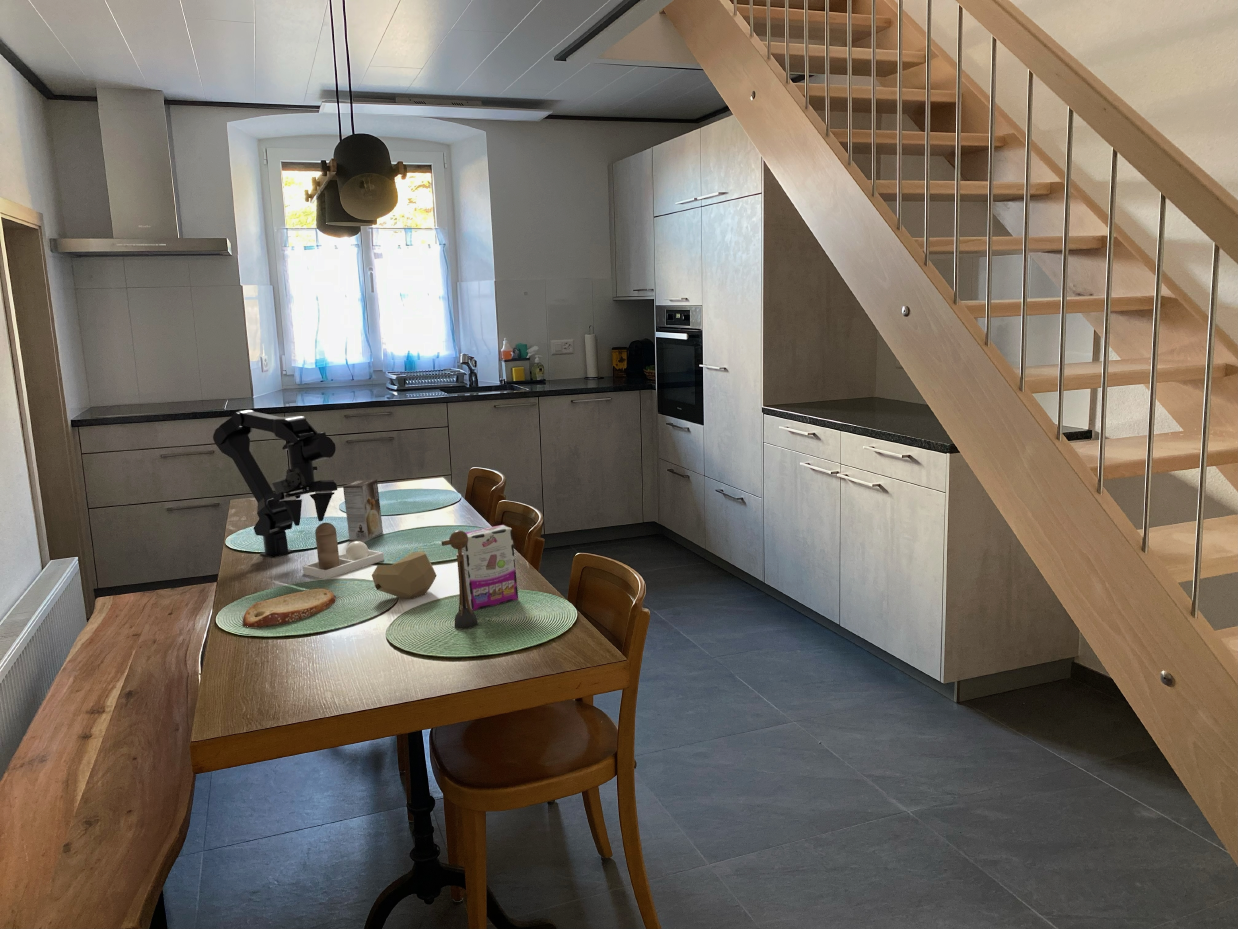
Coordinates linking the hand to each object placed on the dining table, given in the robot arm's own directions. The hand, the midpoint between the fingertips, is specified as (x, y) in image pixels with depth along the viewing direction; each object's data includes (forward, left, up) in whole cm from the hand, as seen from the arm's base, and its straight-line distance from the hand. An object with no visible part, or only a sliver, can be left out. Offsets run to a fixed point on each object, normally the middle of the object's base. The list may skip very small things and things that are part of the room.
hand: (308, 523), depth 235 cm
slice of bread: (+29, -26, -11) cm, 40 cm away
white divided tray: (+12, +1, -11) cm, 16 cm away
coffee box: (-10, +25, -11) cm, 29 cm away
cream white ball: (+12, +5, -10) cm, 17 cm away
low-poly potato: (+44, -6, -11) cm, 46 cm away
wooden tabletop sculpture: (+70, -13, -11) cm, 72 cm away
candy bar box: (+65, 0, -11) cm, 66 cm away
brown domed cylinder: (+12, -4, -10) cm, 16 cm away
